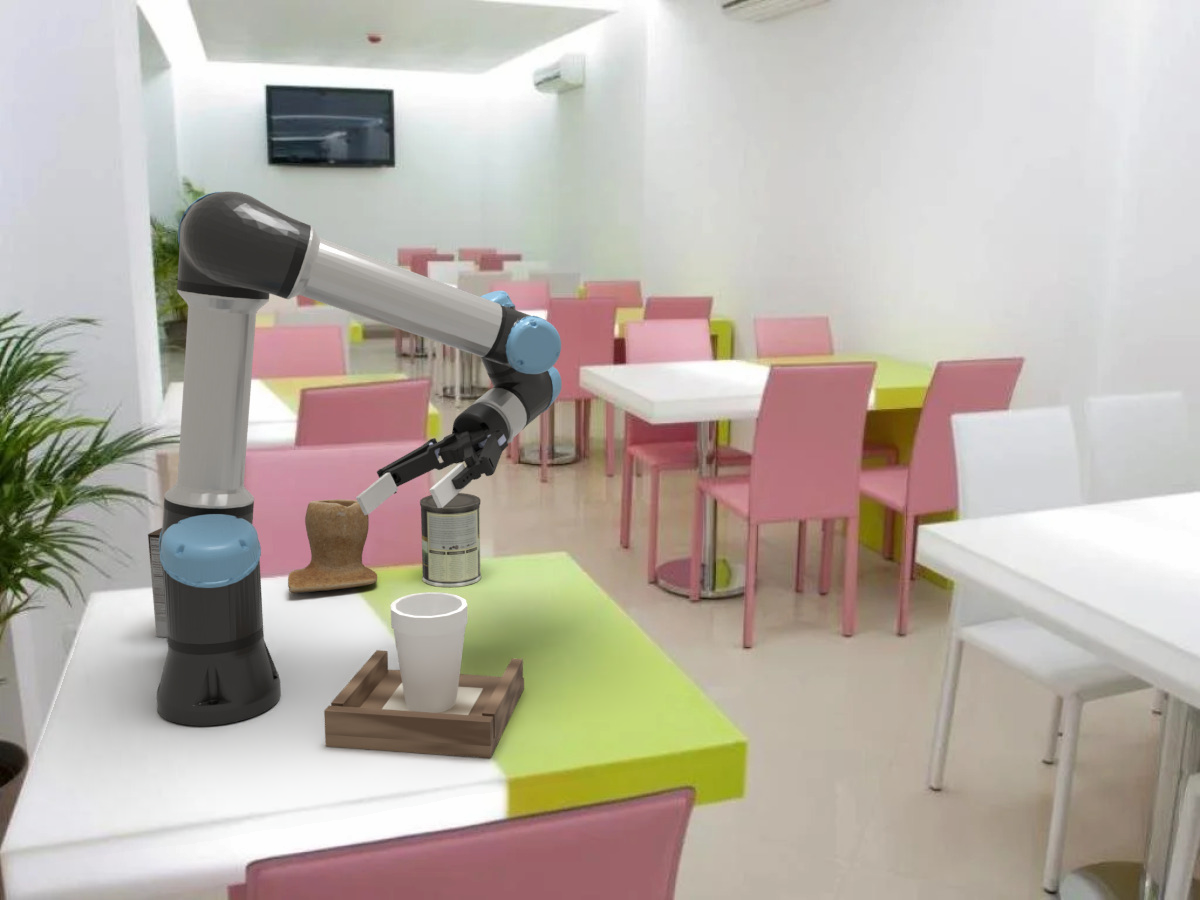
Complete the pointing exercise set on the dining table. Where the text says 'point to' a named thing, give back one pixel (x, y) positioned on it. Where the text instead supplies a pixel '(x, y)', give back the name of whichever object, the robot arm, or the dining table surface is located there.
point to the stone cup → (334, 548)
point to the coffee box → (157, 584)
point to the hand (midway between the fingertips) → (397, 502)
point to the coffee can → (451, 541)
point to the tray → (422, 713)
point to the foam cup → (429, 648)
